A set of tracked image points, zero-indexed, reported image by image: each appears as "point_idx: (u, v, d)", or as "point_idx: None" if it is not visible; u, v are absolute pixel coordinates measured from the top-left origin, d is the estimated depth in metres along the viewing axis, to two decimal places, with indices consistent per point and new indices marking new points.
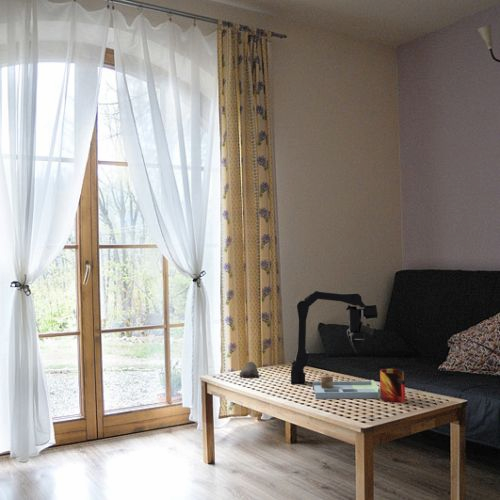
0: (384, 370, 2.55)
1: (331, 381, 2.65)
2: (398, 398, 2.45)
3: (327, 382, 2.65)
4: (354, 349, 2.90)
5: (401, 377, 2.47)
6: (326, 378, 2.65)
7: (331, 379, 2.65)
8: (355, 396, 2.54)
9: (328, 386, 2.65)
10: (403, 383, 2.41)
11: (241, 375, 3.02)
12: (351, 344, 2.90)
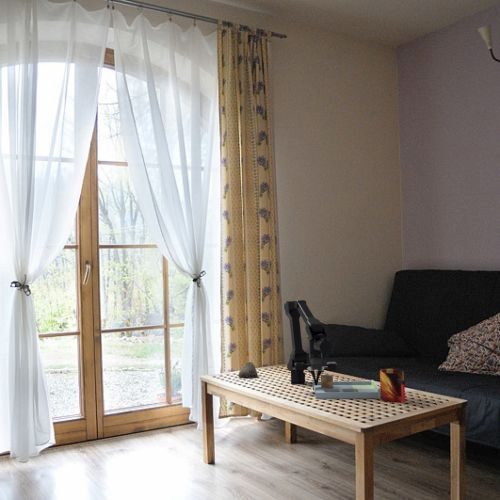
0: (384, 370, 2.55)
1: (331, 381, 2.65)
2: (398, 398, 2.45)
3: (327, 382, 2.65)
4: None
5: (401, 377, 2.47)
6: (326, 378, 2.65)
7: (331, 379, 2.65)
8: (355, 396, 2.54)
9: (328, 386, 2.65)
10: (403, 383, 2.41)
11: (240, 375, 3.01)
12: None
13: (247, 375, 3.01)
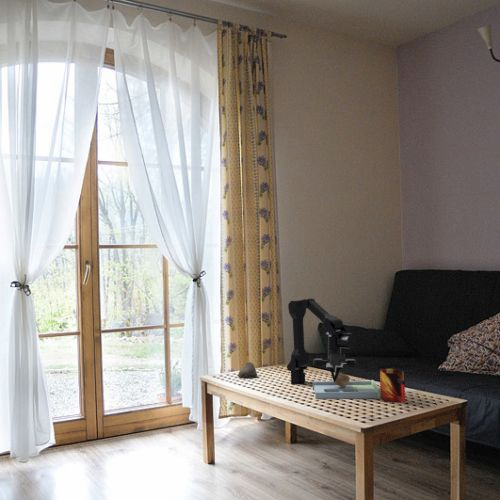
0: (384, 370, 2.55)
1: (346, 381, 2.64)
2: (398, 398, 2.45)
3: (342, 380, 2.64)
4: (334, 381, 2.66)
5: (401, 377, 2.47)
6: (343, 377, 2.64)
7: (347, 380, 2.64)
8: (355, 396, 2.54)
9: (341, 384, 2.64)
10: (403, 383, 2.41)
11: (240, 375, 3.01)
12: None
13: (247, 375, 3.01)
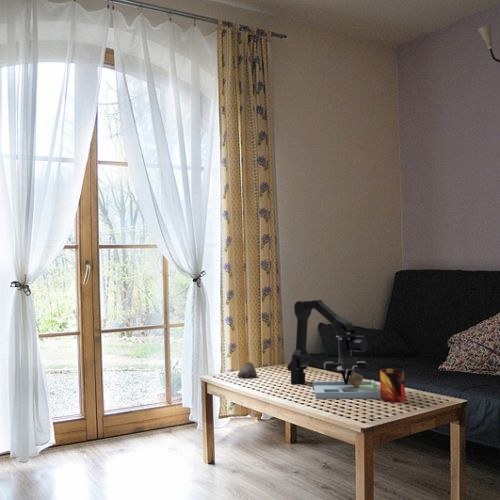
0: (384, 370, 2.55)
1: (360, 381, 2.64)
2: (398, 398, 2.45)
3: (356, 380, 2.64)
4: None
5: (401, 377, 2.47)
6: (357, 376, 2.64)
7: (361, 379, 2.64)
8: (355, 396, 2.54)
9: (355, 384, 2.64)
10: (403, 383, 2.41)
11: (239, 375, 3.01)
12: None
13: (246, 375, 3.01)
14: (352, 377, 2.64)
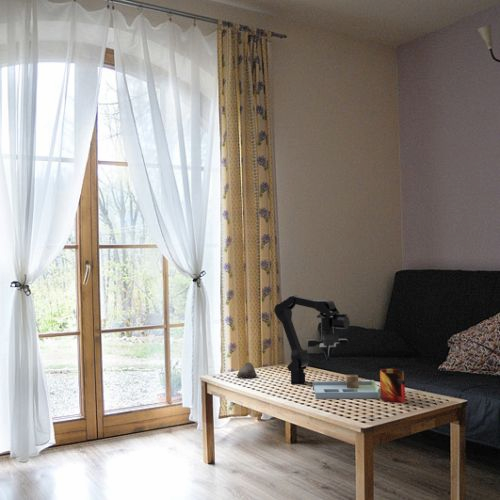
0: (384, 370, 2.55)
1: (357, 381, 2.64)
2: (398, 398, 2.45)
3: (352, 382, 2.64)
4: None
5: (401, 377, 2.47)
6: (352, 378, 2.64)
7: (357, 379, 2.64)
8: (355, 396, 2.54)
9: (353, 386, 2.64)
10: (403, 383, 2.41)
11: (239, 376, 3.00)
12: None
13: (246, 375, 3.00)
14: (348, 381, 2.64)
